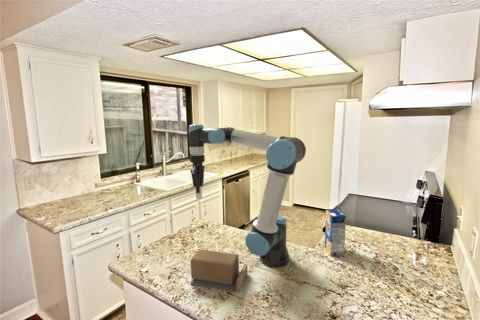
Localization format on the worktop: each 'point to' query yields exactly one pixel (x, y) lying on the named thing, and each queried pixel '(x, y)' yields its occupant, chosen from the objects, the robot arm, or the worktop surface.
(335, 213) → the beverage box
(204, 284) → the mat
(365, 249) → the worktop surface
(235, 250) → the worktop surface
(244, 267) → the stop rail
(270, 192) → the robot arm
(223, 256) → the wooden block
